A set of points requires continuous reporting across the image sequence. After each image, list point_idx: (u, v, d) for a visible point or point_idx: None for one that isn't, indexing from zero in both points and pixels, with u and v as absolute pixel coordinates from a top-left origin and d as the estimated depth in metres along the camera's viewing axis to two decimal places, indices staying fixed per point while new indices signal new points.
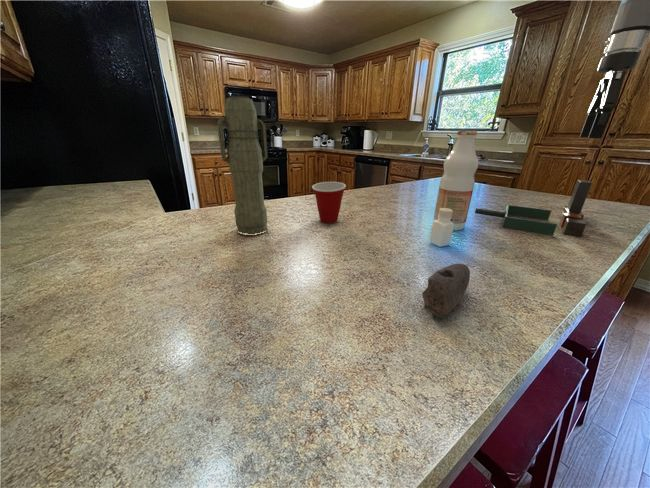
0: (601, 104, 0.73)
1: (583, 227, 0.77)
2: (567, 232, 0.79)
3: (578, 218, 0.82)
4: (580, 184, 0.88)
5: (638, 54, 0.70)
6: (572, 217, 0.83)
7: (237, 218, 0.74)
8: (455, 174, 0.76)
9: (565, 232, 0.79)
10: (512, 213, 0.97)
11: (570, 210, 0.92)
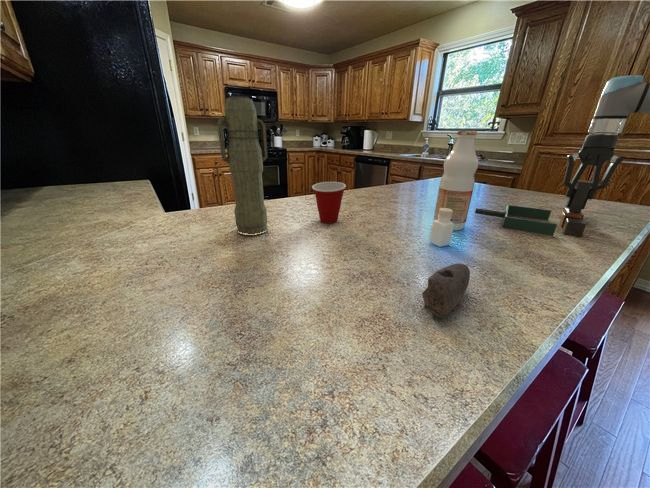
0: None
1: (583, 227, 0.77)
2: (567, 232, 0.79)
3: (578, 218, 0.82)
4: (580, 184, 0.88)
5: (595, 137, 0.82)
6: (572, 217, 0.83)
7: (237, 218, 0.74)
8: (455, 174, 0.76)
9: (565, 232, 0.79)
10: (512, 213, 0.97)
11: (570, 210, 0.92)
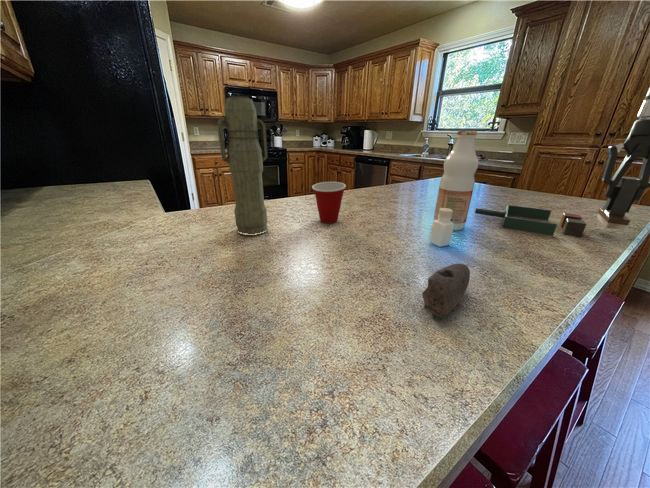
0: None
1: (583, 227, 0.77)
2: (567, 232, 0.79)
3: (578, 218, 0.82)
4: (625, 181, 0.71)
5: (648, 122, 0.66)
6: (572, 217, 0.83)
7: (237, 218, 0.74)
8: (455, 174, 0.76)
9: (565, 232, 0.79)
10: (512, 213, 0.97)
11: (611, 213, 0.75)
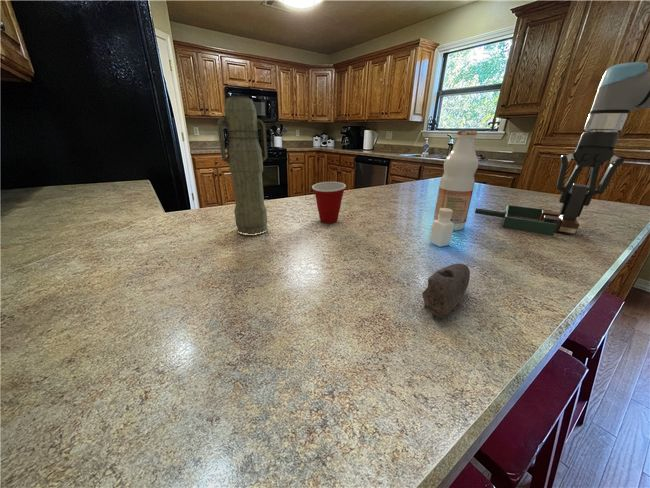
0: None
1: (559, 223, 0.80)
2: None
3: (555, 215, 0.85)
4: (575, 188, 0.77)
5: (592, 134, 0.72)
6: (550, 214, 0.86)
7: (237, 218, 0.74)
8: (455, 174, 0.76)
9: None
10: (512, 213, 0.97)
11: (564, 218, 0.81)
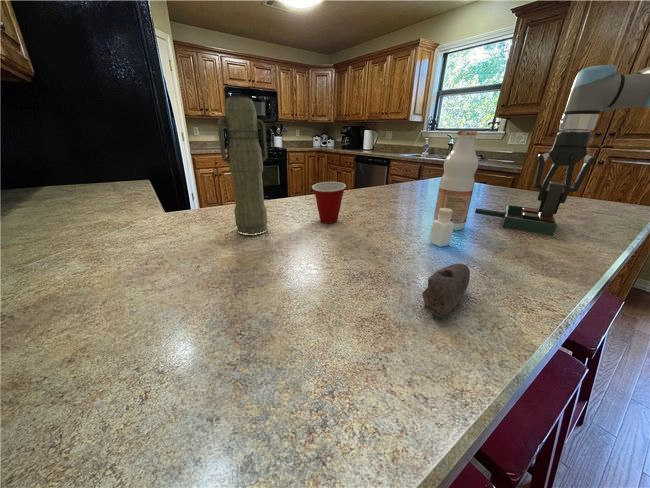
0: None
1: (536, 220, 0.82)
2: None
3: (534, 212, 0.88)
4: (551, 186, 0.80)
5: (565, 134, 0.74)
6: (529, 211, 0.88)
7: (237, 218, 0.74)
8: (455, 174, 0.76)
9: None
10: (512, 213, 0.97)
11: (541, 215, 0.84)
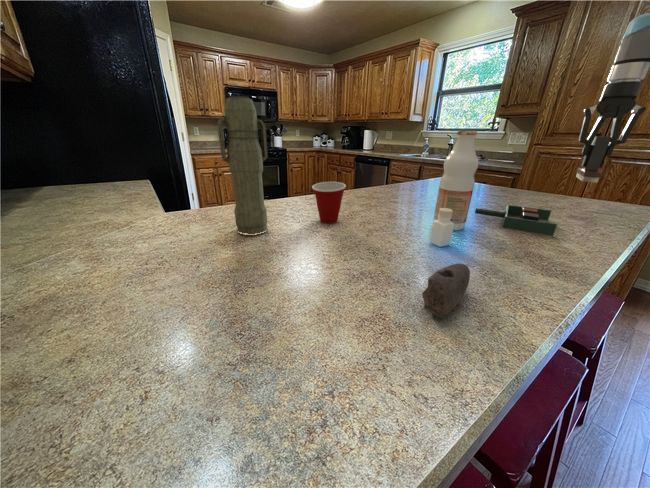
0: None
1: (536, 220, 0.82)
2: None
3: (534, 212, 0.88)
4: (598, 139, 0.81)
5: (615, 85, 0.76)
6: (529, 211, 0.88)
7: (237, 218, 0.74)
8: (455, 174, 0.76)
9: None
10: (512, 213, 0.97)
11: (586, 169, 0.85)
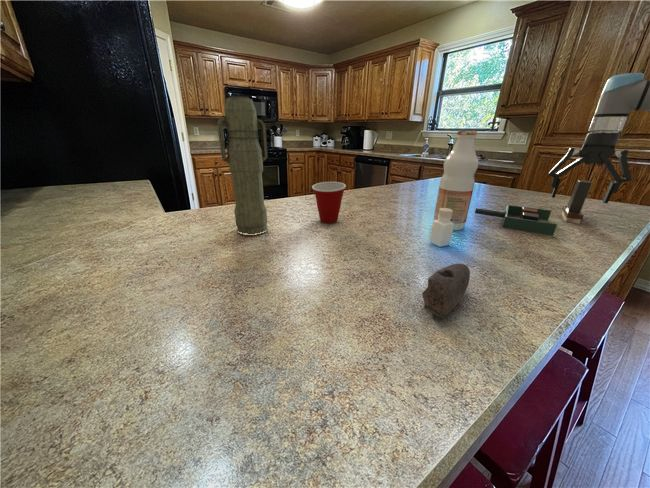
0: None
1: (536, 220, 0.82)
2: None
3: (534, 212, 0.88)
4: (580, 184, 0.88)
5: (596, 135, 0.82)
6: (529, 211, 0.88)
7: (237, 218, 0.74)
8: (455, 174, 0.76)
9: None
10: (512, 213, 0.97)
11: (570, 210, 0.92)
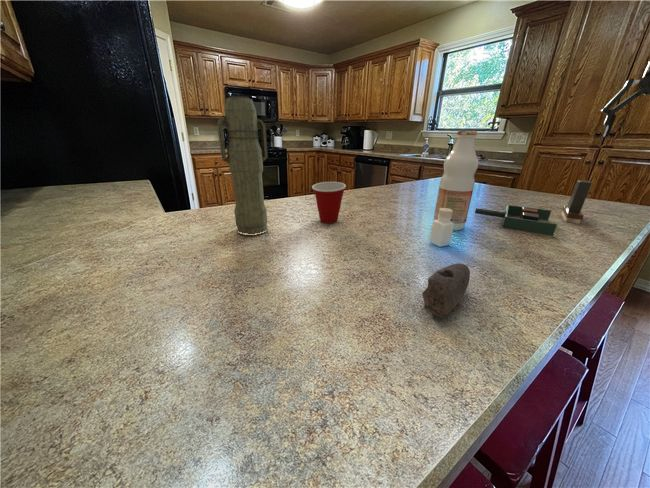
0: None
1: (536, 220, 0.82)
2: None
3: (534, 212, 0.88)
4: (580, 184, 0.88)
5: None
6: (529, 211, 0.88)
7: (237, 218, 0.74)
8: (455, 174, 0.76)
9: None
10: (512, 213, 0.97)
11: (570, 210, 0.92)
